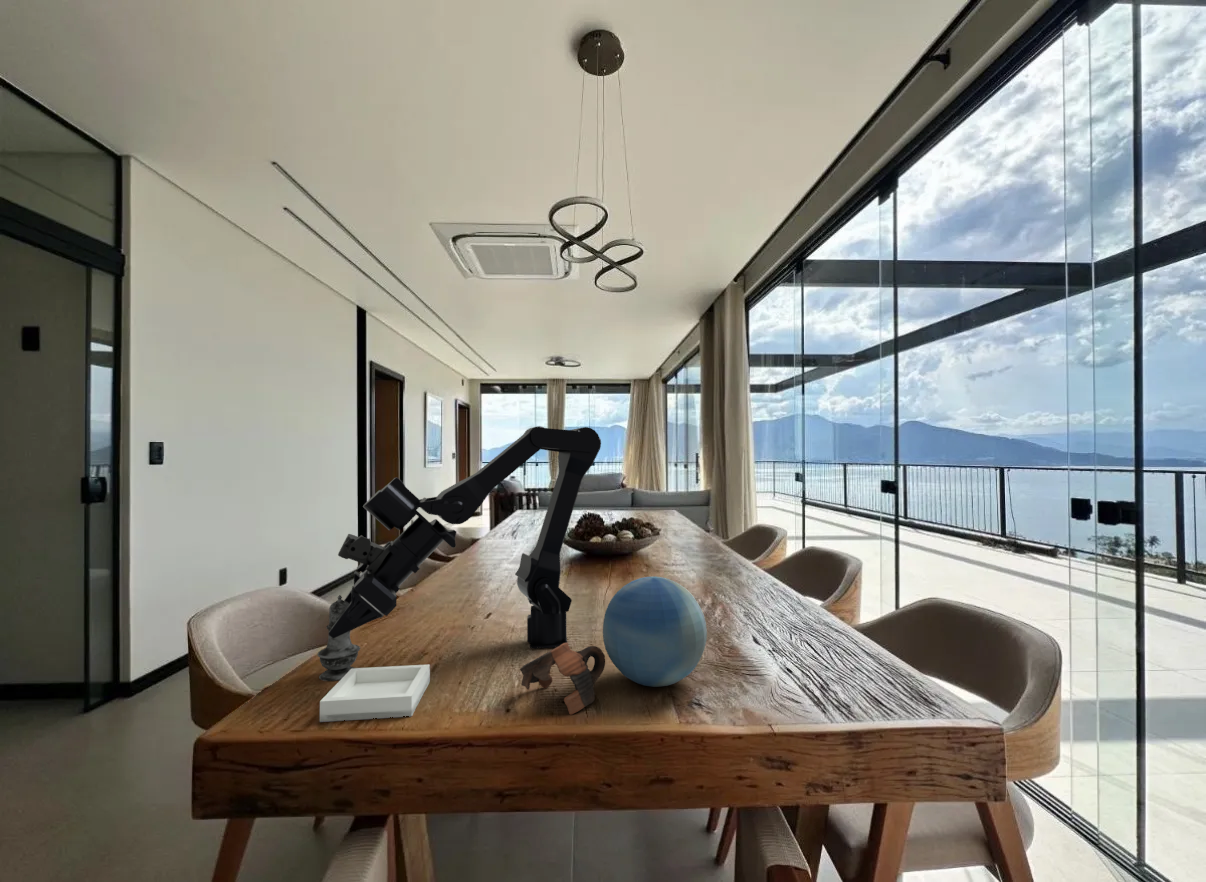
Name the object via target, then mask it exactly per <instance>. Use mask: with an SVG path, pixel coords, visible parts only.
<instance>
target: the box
mask: <svg viewBox="0 0 1206 882" xmlns="http://www.w3.org/2000/svg"><path fill="white" fill-rule="evenodd" d="M430 681H431V664H413V665H393V666H392V665H391V666H376V667H375V666H373V667H371V666H370V667H354V668H351V669H350V670H349V672H348V673H347V674H346V675H345V676H344V677H343V678H342V679H341V680H339V681H338V682H337V683H336V684H335V685H334V686H333V687H332V688H331V689H330V690H329V691H328V692H327V694H325V695H324V696H323V698H321V700H320V701H319V723H324V722H325V723H326V722H329V723H330V722H342V721H343V722H344V720H345V721H357V720H361V721H362V720H372V719H373V718H374V719H373V720H375V718H377V719H389V718H390V717H391V718H392V717H393V718H405V717H406V716H409V717H413V715H414V712H415V711H416V708H417V707H418V705H419V703H420V701H421V699H422V697H423V695H424V693H425V692H426V690H427V688H428V686H429V684H430ZM403 716H405V717H403ZM406 718H407V717H406Z"/></svg>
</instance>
